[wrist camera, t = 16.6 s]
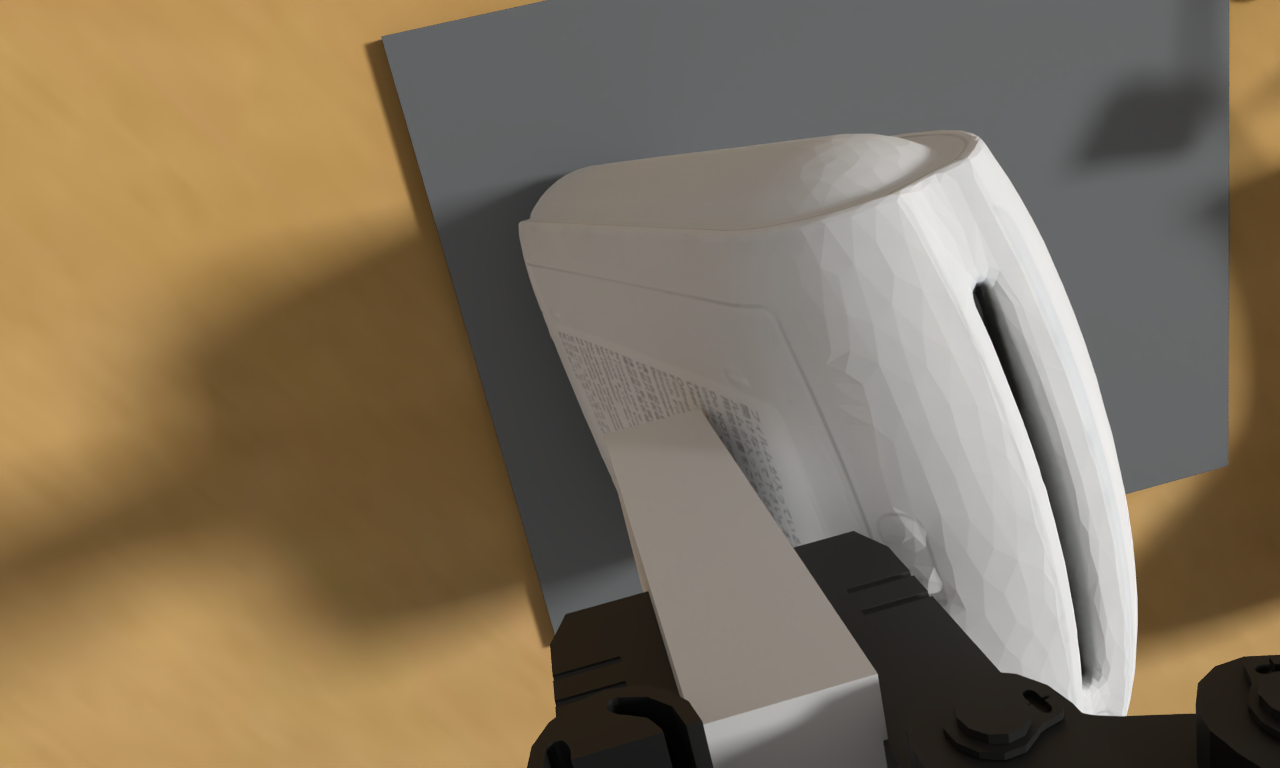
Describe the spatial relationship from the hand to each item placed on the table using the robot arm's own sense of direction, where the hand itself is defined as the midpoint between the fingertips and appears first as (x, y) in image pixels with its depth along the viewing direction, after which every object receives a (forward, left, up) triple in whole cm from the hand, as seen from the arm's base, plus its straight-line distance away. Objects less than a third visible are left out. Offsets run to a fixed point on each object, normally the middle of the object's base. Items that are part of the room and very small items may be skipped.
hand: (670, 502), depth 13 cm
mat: (-7, 0, -9) cm, 11 cm away
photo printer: (-1, +1, -8) cm, 8 cm away
